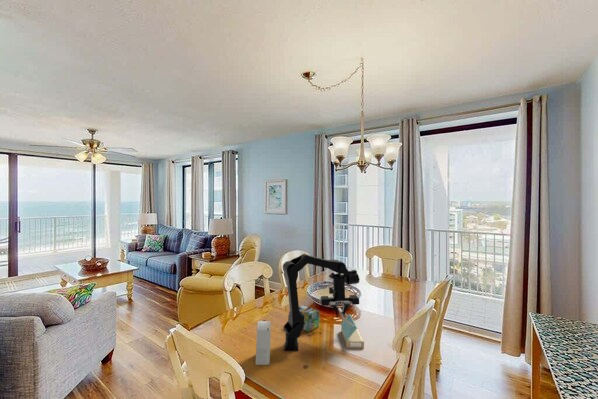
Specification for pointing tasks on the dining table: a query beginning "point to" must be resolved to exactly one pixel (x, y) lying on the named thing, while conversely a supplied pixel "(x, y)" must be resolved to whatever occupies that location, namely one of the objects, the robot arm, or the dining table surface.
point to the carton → (354, 339)
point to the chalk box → (310, 318)
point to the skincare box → (263, 343)
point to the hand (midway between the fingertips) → (340, 317)
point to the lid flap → (347, 324)
